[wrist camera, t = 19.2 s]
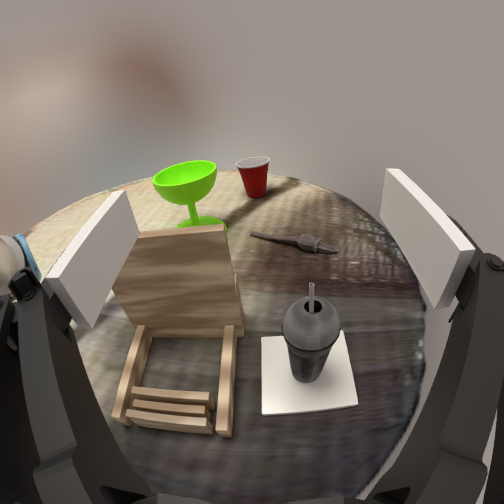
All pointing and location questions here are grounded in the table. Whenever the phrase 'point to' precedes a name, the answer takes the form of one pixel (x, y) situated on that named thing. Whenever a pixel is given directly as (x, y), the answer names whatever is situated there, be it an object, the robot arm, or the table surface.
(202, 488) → the table surface
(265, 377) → the white tile
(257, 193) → the plastic cup
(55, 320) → the robot arm
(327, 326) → the beverage cup
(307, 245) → the natural artifact
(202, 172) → the wineglass
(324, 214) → the table surface
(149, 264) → the pine rack
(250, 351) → the table surface
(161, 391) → the plywood offcuts
